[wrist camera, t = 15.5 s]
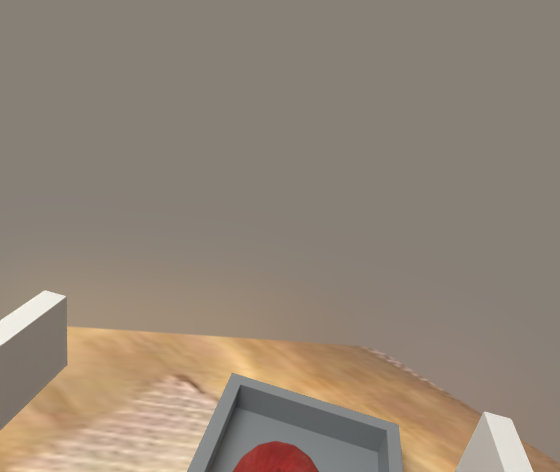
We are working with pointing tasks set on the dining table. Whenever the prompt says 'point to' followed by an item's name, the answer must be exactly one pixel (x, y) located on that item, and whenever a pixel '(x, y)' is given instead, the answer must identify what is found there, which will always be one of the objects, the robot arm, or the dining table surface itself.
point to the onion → (275, 459)
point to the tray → (295, 431)
